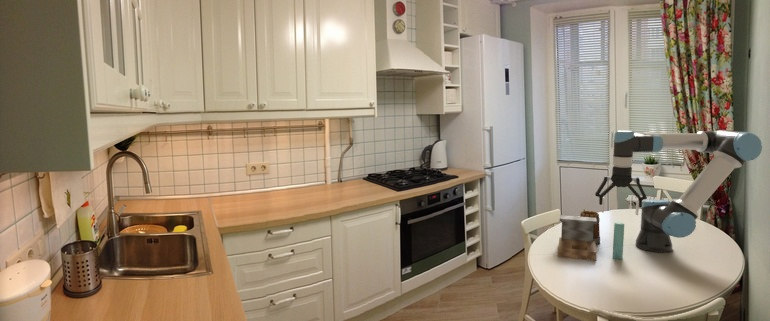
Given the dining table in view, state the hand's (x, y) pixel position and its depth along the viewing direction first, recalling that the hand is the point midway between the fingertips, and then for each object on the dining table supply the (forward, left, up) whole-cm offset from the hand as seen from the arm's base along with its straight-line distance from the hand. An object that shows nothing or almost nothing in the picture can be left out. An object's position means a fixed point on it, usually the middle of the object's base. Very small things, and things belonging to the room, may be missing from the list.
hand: (619, 213), depth 200 cm
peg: (0, 0, -21) cm, 21 cm away
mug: (+12, -22, -21) cm, 33 cm away
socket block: (+17, -2, -21) cm, 27 cm away
